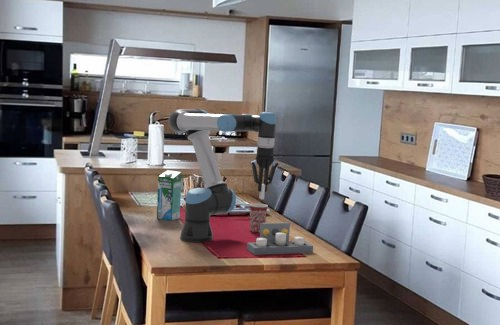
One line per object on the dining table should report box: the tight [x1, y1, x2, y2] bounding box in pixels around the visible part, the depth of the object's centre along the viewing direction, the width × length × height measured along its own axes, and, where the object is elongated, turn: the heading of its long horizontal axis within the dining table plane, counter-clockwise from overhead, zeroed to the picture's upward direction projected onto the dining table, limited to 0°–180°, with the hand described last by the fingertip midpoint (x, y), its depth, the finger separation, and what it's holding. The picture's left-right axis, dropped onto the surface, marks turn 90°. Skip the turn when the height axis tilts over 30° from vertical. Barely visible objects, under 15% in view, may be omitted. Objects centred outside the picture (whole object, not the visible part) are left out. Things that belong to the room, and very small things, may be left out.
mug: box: [249, 203, 269, 233], centre depth 337 cm, size 13×9×14 cm
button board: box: [246, 240, 314, 256], centre depth 296 cm, size 28×9×4 cm, turn 110°
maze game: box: [216, 203, 271, 216], centre depth 381 cm, size 35×20×3 cm, turn 107°
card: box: [259, 222, 291, 242], centre depth 302 cm, size 14×1×12 cm, turn 110°
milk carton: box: [156, 169, 183, 222], centre depth 352 cm, size 9×9×25 cm
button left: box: [255, 237, 267, 247], centre depth 292 cm, size 5×5×5 cm
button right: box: [293, 236, 305, 246], centre depth 299 cm, size 5×5×5 cm
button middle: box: [275, 232, 286, 246], centre depth 295 cm, size 5×5×5 cm
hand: (261, 198), depth 301 cm, fingers closed
